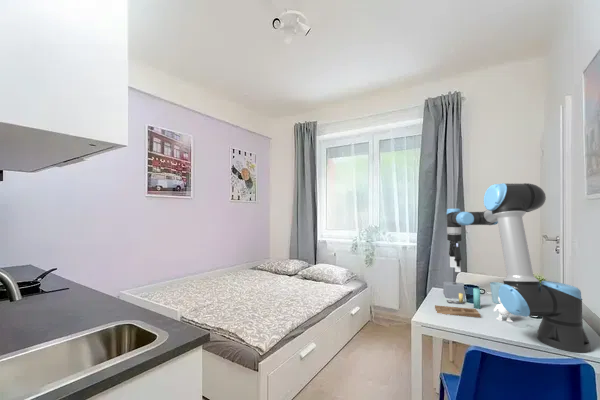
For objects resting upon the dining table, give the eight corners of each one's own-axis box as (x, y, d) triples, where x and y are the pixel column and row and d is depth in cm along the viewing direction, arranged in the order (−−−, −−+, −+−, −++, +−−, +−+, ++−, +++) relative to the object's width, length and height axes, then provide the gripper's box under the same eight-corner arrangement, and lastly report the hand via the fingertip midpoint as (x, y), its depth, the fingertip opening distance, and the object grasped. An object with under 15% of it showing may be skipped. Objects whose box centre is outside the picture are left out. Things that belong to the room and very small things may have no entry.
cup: (509, 303, 156) (508, 284, 156) (503, 305, 152) (503, 286, 152) (493, 299, 162) (493, 281, 163) (488, 302, 158) (487, 283, 158)
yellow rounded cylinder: (464, 304, 154) (464, 294, 155) (447, 302, 157) (447, 293, 157) (463, 302, 158) (462, 292, 158) (446, 300, 160) (446, 291, 160)
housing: (466, 299, 163) (466, 284, 163) (445, 297, 166) (445, 283, 166) (463, 295, 170) (463, 281, 171) (443, 293, 174) (443, 280, 174)
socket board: (480, 317, 135) (480, 314, 135) (437, 313, 141) (437, 310, 141) (475, 311, 143) (475, 308, 143) (434, 308, 149) (434, 305, 149)
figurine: (514, 320, 132) (513, 295, 132) (515, 324, 128) (515, 297, 128) (493, 317, 136) (492, 292, 136) (494, 320, 132) (493, 295, 132)
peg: (481, 309, 147) (480, 289, 147) (474, 308, 148) (474, 289, 148) (479, 307, 150) (478, 288, 150) (473, 306, 151) (472, 287, 151)
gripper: (466, 236, 155) (467, 274, 155) (456, 232, 179) (457, 265, 178) (451, 235, 158) (452, 273, 157) (443, 232, 181) (444, 265, 181)
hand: (455, 269), depth 168 cm, fingers open, 13 cm apart
